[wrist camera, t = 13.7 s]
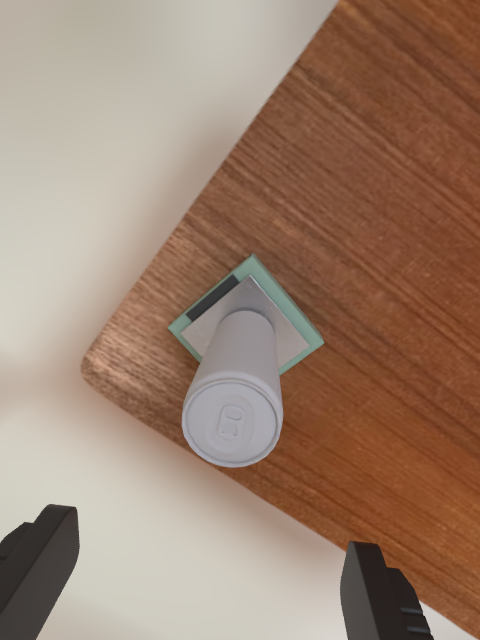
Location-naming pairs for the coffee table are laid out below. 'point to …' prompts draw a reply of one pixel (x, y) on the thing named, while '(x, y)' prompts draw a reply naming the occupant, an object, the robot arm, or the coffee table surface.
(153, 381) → the coffee table surface
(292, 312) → the scale
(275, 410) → the beverage can
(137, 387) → the coffee table surface
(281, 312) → the scale pan
